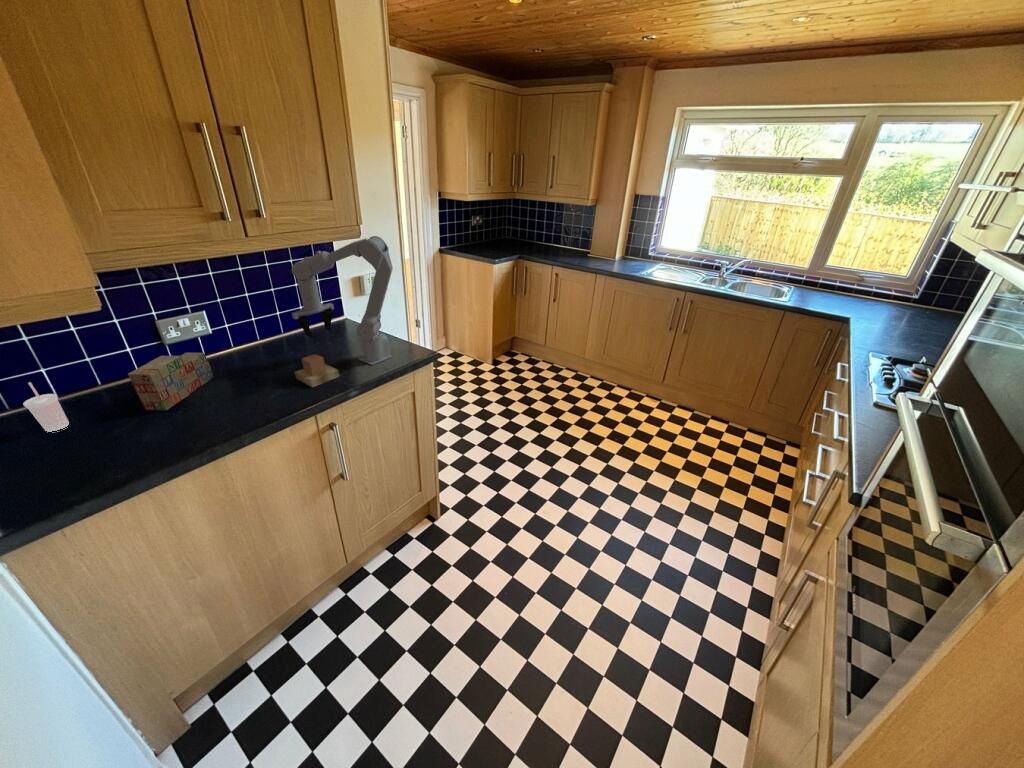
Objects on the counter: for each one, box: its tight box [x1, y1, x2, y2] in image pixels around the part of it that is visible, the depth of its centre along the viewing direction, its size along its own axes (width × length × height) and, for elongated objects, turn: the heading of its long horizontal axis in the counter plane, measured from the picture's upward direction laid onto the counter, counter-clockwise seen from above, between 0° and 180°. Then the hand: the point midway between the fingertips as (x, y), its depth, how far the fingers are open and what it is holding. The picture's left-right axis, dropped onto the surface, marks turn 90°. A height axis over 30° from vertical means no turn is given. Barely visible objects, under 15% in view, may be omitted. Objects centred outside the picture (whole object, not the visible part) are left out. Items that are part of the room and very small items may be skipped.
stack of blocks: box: [127, 352, 214, 411], centre depth 124 cm, size 21×6×12 cm, turn 179°
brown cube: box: [301, 353, 326, 376], centre depth 135 cm, size 5×5×5 cm
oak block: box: [294, 362, 340, 388], centre depth 137 cm, size 10×10×3 cm
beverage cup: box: [22, 381, 70, 433], centre depth 106 cm, size 6×6×14 cm
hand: (318, 332), depth 146 cm, fingers open, 7 cm apart
